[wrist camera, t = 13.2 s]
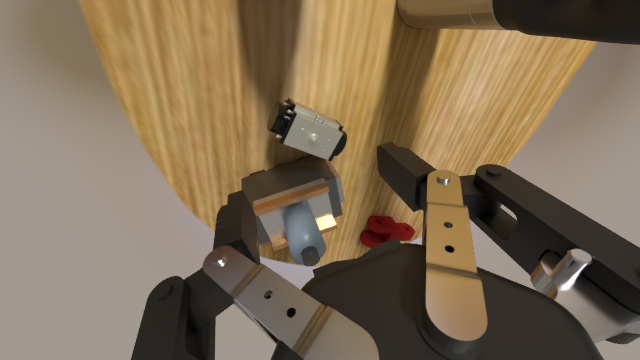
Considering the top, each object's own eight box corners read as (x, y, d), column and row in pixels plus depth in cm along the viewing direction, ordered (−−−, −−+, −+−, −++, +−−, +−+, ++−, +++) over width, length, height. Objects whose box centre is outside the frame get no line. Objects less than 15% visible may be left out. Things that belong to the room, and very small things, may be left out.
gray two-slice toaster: (323, 146, 47) (347, 180, 37) (331, 184, 53) (353, 222, 43) (240, 172, 45) (240, 216, 35) (258, 208, 51) (263, 255, 40)
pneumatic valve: (319, 137, 45) (340, 167, 36) (262, 114, 40) (270, 142, 30) (332, 111, 43) (359, 136, 34) (274, 83, 38) (287, 103, 28)
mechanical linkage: (357, 234, 66) (365, 248, 62) (366, 215, 63) (375, 228, 59) (401, 233, 72) (410, 246, 68) (411, 216, 69) (422, 228, 65)
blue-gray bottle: (308, 199, 38) (325, 242, 31) (314, 220, 41) (332, 264, 34) (278, 210, 38) (288, 256, 30) (287, 230, 41) (298, 277, 33)
